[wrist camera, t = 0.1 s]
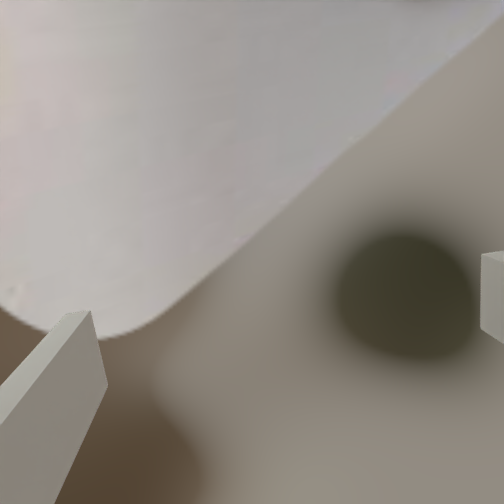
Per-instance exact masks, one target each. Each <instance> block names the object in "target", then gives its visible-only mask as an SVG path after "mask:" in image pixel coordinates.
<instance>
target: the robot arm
mask: <svg viewBox="0 0 504 504" xmlns="http://www.w3.org/2000/svg"><path fill="white" fill-rule="evenodd" d="M480 329H482V330H483V331H485V332H486V333H488V334H489V335H491V336H492V337H494V338H495V339H496V340H498V341H500V342H501V343H503V344H504V251H498V252H491V253H484V254H481V303H480ZM107 387H108V383H107V379H106V375H105V370H104V366H103V362H102V358H101V353H100V349H99V345H98V341H97V336H96V332H95V328H94V324H93V319H92V315H91V311H90V310H89V311H82V312H75V313H68V314H66V315H65V316H64V317H63V318H62V319H61V320H60V321H59V322H58V323H57V325H56V326H55V327H54V328H53V329H52V330H51V331H50V332H49V333H48V334H47V336H46V337H45V338H44V339H43V340H42V341H41V342H40V343H39V344H38V346H37V347H36V348H35V349H34V350H33V351H32V352H31V353H30V354H29V355H28V356H27V358H26V359H25V360H24V361H23V362H22V363H21V364H20V365H19V366H18V368H17V369H16V370H15V371H14V372H13V373H12V374H11V375H10V376H9V377H8V379H6V381H5V382H4V383H3V384H2V385H1V386H0V504H54V503H55V500H56V498H57V496H58V494H59V492H60V489H61V487H62V485H63V483H64V480H65V479H66V476H67V474H68V472H69V470H70V468H71V465H72V463H73V461H74V459H75V457H76V454H77V452H78V450H79V448H80V446H81V444H82V441H83V439H84V437H85V435H86V433H87V431H88V428H89V426H90V424H91V422H92V420H93V417H94V415H95V413H96V411H97V409H98V407H99V404H100V402H101V400H102V398H103V396H104V393H105V391H106V389H107Z"/></svg>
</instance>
